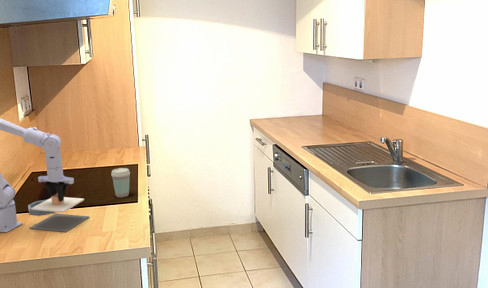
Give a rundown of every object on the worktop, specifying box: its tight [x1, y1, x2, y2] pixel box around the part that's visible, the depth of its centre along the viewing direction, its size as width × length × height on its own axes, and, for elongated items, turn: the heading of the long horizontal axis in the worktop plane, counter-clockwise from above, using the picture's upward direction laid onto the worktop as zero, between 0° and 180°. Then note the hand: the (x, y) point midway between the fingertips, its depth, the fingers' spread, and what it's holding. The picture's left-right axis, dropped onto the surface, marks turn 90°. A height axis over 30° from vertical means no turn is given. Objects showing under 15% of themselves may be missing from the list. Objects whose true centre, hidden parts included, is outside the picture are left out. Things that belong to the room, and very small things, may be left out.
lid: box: [31, 192, 85, 213], centre depth 197 cm, size 14×14×4 cm
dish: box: [27, 199, 55, 216], centre depth 214 cm, size 12×12×2 cm
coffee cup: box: [110, 167, 131, 198], centre depth 231 cm, size 8×8×12 cm
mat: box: [29, 212, 90, 233], centre depth 199 cm, size 16×16×1 cm
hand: (58, 200), depth 197 cm, fingers closed on lid, 2 cm apart
